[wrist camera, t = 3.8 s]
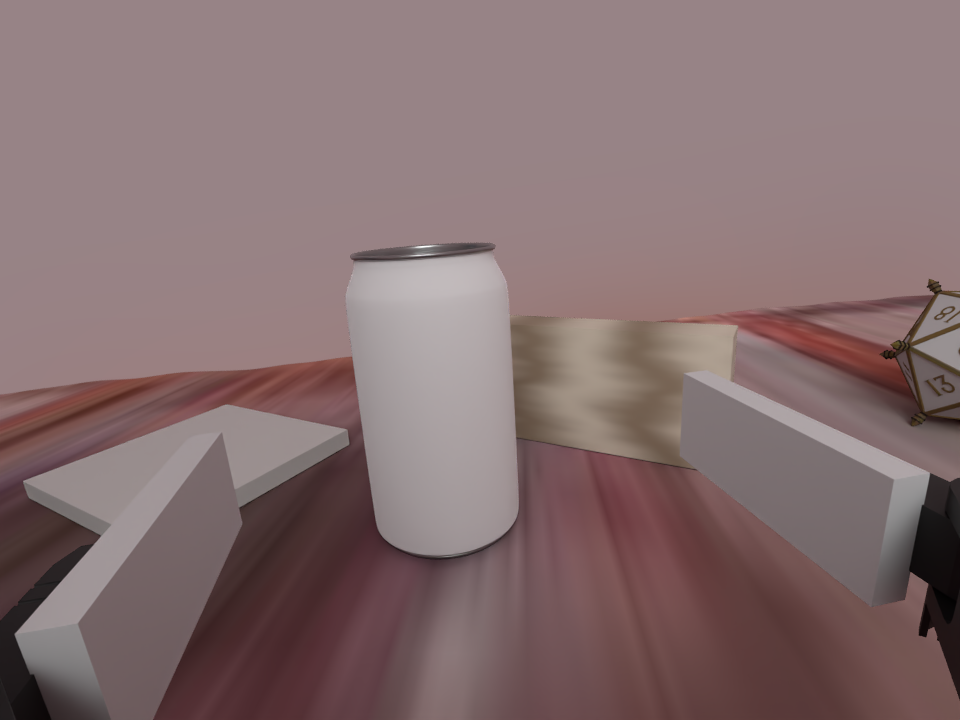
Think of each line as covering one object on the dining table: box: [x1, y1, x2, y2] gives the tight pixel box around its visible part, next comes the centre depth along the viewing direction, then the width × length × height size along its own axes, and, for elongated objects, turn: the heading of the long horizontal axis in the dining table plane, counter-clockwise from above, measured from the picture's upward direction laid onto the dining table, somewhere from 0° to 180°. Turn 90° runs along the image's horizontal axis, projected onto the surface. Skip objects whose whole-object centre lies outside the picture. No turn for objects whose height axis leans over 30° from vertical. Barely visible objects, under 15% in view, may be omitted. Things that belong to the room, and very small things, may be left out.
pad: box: [23, 404, 349, 536], centre depth 29 cm, size 12×12×1 cm
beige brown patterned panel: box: [510, 315, 738, 470], centre depth 30 cm, size 21×2×7 cm, turn 60°
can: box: [346, 243, 519, 559], centre depth 21 cm, size 6×6×12 cm
